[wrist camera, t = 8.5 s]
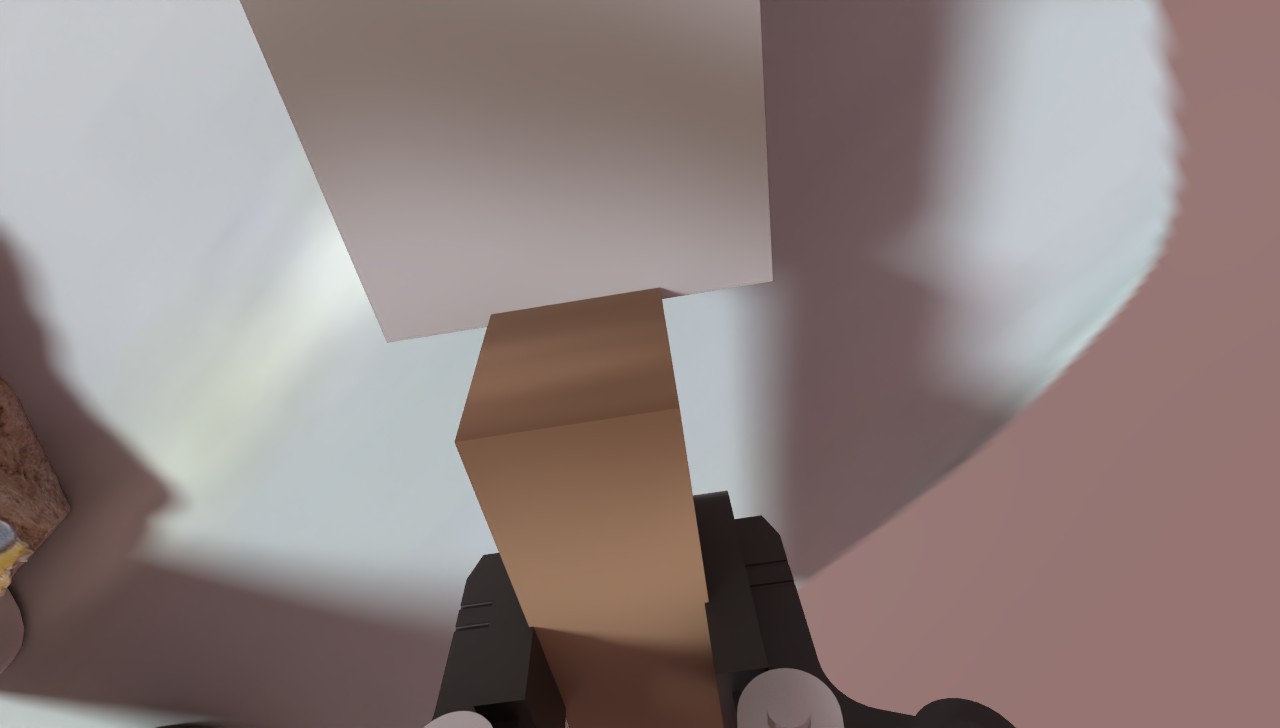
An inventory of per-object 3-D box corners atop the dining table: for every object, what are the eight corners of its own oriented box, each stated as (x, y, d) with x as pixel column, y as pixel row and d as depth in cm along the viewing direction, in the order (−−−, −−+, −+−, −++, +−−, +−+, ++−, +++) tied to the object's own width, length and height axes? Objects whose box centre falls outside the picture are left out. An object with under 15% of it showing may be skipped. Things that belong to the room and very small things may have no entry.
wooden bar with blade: (786, 680, 17) (826, 841, 14) (557, 710, 17) (547, 876, 14) (737, -260, 7) (836, -393, 4) (200, -155, 7) (-75, -209, 4)
